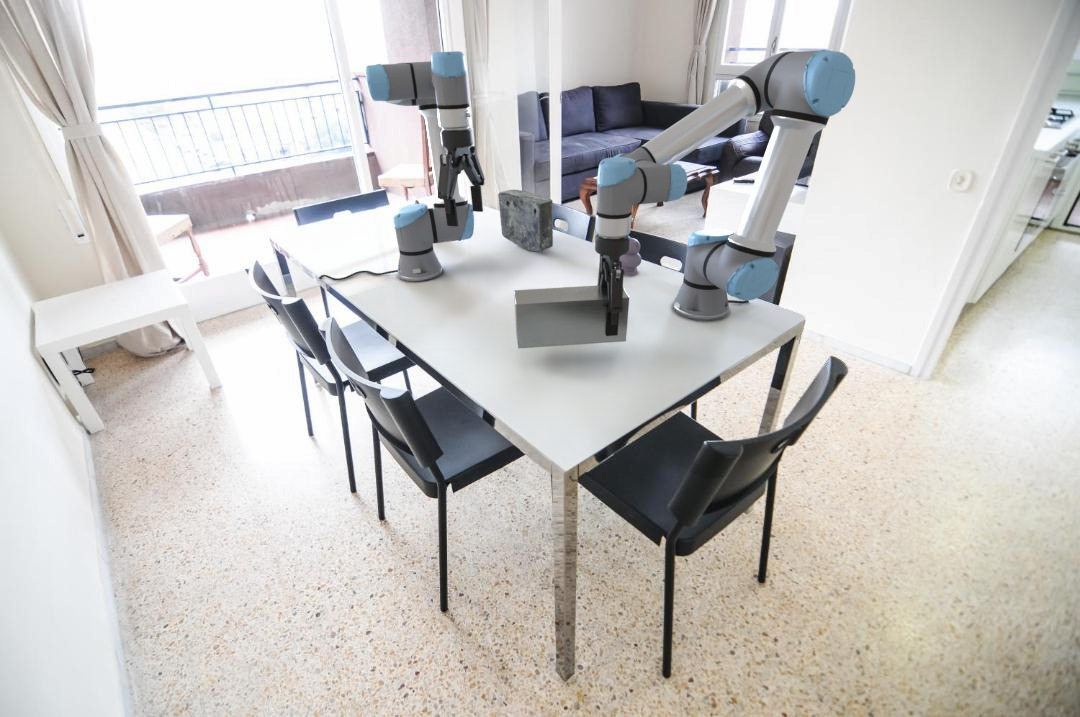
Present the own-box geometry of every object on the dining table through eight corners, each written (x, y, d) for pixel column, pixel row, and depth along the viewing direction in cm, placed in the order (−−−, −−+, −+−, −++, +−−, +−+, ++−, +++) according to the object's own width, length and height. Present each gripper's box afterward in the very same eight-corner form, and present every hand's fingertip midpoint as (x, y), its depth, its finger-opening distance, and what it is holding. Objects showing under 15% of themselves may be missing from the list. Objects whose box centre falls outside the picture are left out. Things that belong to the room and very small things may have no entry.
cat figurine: (645, 271, 170) (647, 237, 164) (632, 278, 165) (634, 243, 159) (624, 266, 175) (626, 232, 169) (611, 272, 170) (612, 238, 164)
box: (518, 348, 116) (516, 304, 110) (516, 332, 123) (514, 290, 117) (625, 341, 118) (629, 297, 112) (618, 326, 125) (621, 284, 119)
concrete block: (558, 253, 189) (557, 199, 178) (539, 258, 184) (537, 204, 174) (519, 237, 207) (516, 187, 197) (501, 241, 203) (497, 191, 193)
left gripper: (442, 136, 106) (454, 233, 117) (493, 121, 126) (499, 206, 137) (412, 135, 108) (427, 231, 119) (466, 121, 128) (475, 205, 139)
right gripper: (642, 248, 100) (634, 346, 112) (618, 220, 118) (613, 307, 129) (606, 250, 99) (601, 349, 111) (587, 221, 117) (584, 309, 129)
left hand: (465, 218), depth 128 cm, fingers open, 13 cm apart
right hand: (607, 326), depth 120 cm, fingers closed on box, 8 cm apart
